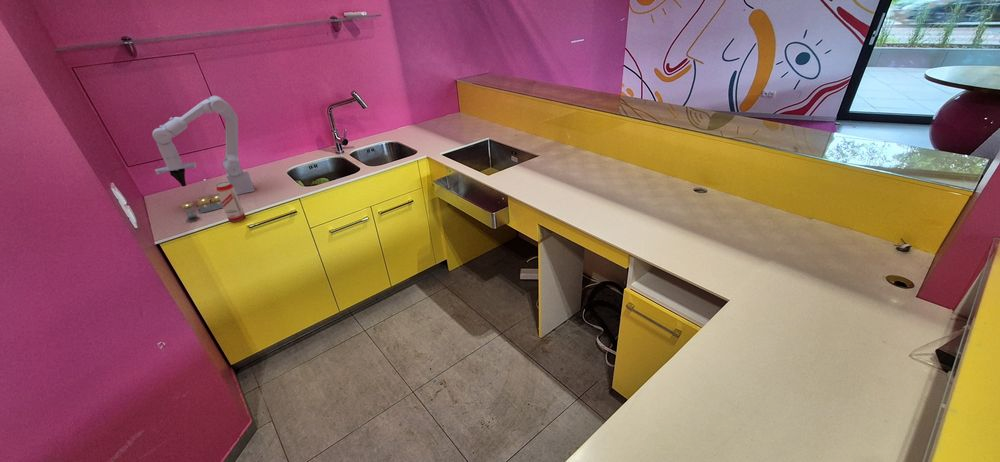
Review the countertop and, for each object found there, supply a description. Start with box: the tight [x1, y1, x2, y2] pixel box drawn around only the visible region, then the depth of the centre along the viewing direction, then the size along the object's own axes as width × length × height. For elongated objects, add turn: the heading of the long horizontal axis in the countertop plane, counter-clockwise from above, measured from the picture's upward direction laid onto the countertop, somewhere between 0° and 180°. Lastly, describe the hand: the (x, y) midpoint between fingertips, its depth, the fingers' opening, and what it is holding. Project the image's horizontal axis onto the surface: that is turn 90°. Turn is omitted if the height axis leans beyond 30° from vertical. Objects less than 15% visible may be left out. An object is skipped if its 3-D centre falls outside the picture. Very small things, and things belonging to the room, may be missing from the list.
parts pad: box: [185, 215, 199, 223], centre depth 178 cm, size 4×4×1 cm
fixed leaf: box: [198, 193, 221, 203], centre depth 191 cm, size 10×10×4 cm
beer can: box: [216, 181, 246, 223], centre depth 173 cm, size 6×6×16 cm
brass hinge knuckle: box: [196, 196, 224, 214], centre depth 187 cm, size 10×8×4 cm
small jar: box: [180, 201, 199, 220], centre depth 176 cm, size 4×4×7 cm
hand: (184, 185), depth 187 cm, fingers closed
